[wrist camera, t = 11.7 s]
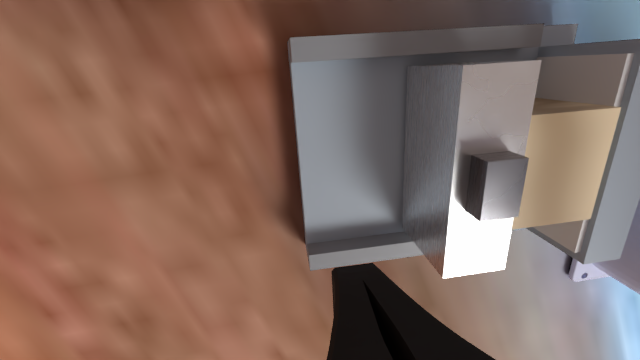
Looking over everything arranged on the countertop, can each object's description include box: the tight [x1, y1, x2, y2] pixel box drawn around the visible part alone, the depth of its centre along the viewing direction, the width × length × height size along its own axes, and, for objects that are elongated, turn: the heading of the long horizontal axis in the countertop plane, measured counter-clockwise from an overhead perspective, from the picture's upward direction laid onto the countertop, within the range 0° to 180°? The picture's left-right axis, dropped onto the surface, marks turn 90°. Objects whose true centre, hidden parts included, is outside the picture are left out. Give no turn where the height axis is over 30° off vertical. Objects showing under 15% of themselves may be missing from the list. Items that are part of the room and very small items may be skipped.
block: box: [512, 98, 621, 230], centre depth 15 cm, size 4×5×5 cm
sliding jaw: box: [402, 60, 542, 278], centre depth 14 cm, size 3×9×6 cm, turn 3°
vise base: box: [287, 24, 640, 271], centre depth 16 cm, size 15×12×6 cm
